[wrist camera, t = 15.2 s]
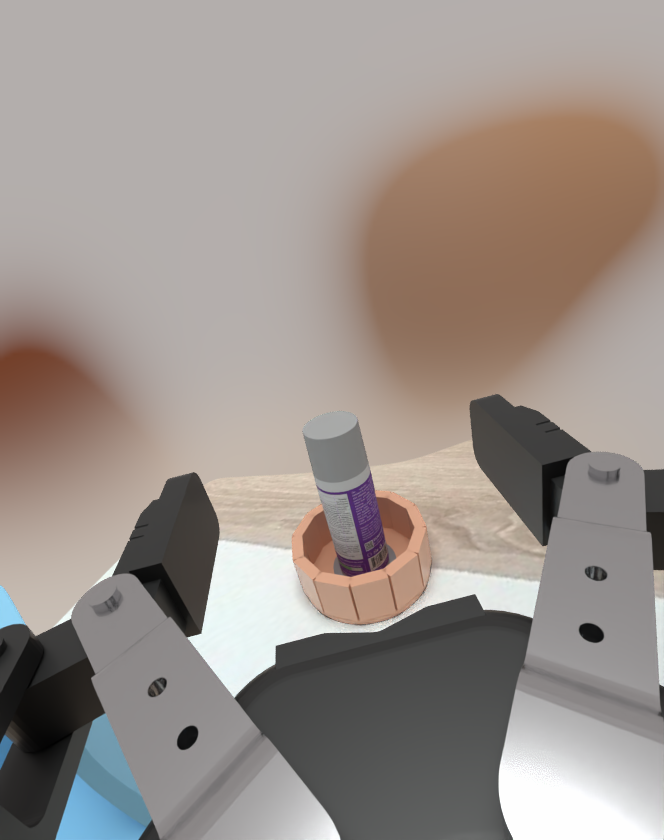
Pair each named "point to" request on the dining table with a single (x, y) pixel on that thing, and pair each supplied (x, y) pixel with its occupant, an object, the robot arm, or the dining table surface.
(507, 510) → the dining table surface
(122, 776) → the vase
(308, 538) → the faceted terracotta pot
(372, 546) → the container
